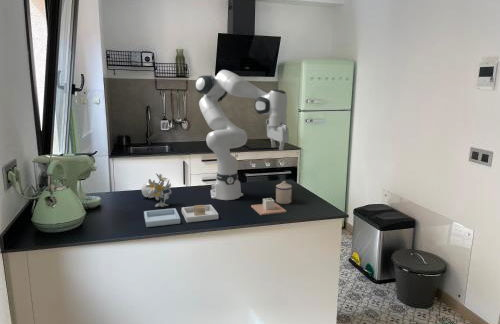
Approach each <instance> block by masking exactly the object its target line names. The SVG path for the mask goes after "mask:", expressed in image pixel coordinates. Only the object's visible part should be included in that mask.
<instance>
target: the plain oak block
mask: <svg viewBox="0 0 500 324" xmlns="http://www.w3.org/2000/svg"><path fill="white" fill-rule="evenodd" d="M193 206H194V215H195V216H199V215H205V207H204V206H203V204H197V205H193Z"/></svg>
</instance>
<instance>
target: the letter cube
mask: <svg viewBox="0 0 500 324" xmlns="http://www.w3.org/2000/svg"><path fill="white" fill-rule="evenodd" d="M274 203H275V200H274V199H273V198H272V197H267V198H262V204H263V208H264V209H266V210H269V209H274Z"/></svg>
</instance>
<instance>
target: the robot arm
mask: <svg viewBox="0 0 500 324" xmlns="http://www.w3.org/2000/svg"><path fill="white" fill-rule="evenodd" d="M194 87H195V91H196V92H197V93H198V94H200V95H203V96H202V97H201V98H200V99H199V102H198V105H199V110H200V111H201V114H202V116H203V118H204V119H205V122H206V123H207V125H208V127H209V128H210V129H211V130H213V131H210V132H208V134H207V135H206V138H205V140H206V145H207V147H208V148H209V149H210V150H211V151H212V152H213V153H214V155H215V157H216V164H217V166H216V167H217V172H216V179H215V181H214V182H213V183H214V184H211V189H210V197H211V199H214V200H215V199H216V200H223V201H232V200H236V199H240V197H243V196H244V193H242V191H241V181H240V180H239V173H238V160H237V158H236V157H235V156H234V155H232V154H231V150H230V149H237V148H240V147H243V146H245V145H246V144H247V141H248V134H247V131H246V130H245V129H242V128H240V127H238V126H236V124H234V123H233V122H232V121H230V119H228V117H227V116H226V114H225V112H224V111H223V110H222V108H221V106H220V104H219V102H222V100H223V99H225V98H226V96H227V95H228V94H229V95H231V96H233V97H237V98H250V99H254V100H255V101H254V102H253V103H254V104H253V105H254V106H253V107H254V111H255V112H256V113H257V114H259V115H269V116H268V117H269V118H268V119H266V121H265V124H266V136H267V138H269V139H270V142H271V143H270V144H271V148H276V147H277V144H276V141H277V142H279V146H278V151H280V152H282V151H284V146H285V143H289V140H290V133H289V131H290V130H289V128H288V126H287V122H288V120H287V119H288V115H287V109H288V96H287V92H286V91H284V90H282V89H276V88H275V89H271V90H270V91H269V92H268V91H266V90H264V89H262V88H260V87H258V86H256V85H254V84H253V83H251V82H249V81H248V80H246V79H244V78H243V77H241V76H240V75H238V74H237V73H234V72H232V71H230V70H227V69H221V70H219V71H218V73H217V74H216V76H213V75H212V74H211V75H209V74H208V75H200V76H198V77H197V78H196V80H195V84H194Z"/></svg>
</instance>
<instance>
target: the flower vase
mask: <svg viewBox="0 0 500 324" xmlns="http://www.w3.org/2000/svg"><path fill="white" fill-rule="evenodd" d="M155 175H156V176H157V178H158V182H156V180H155V179H154V180H152V179H150V178H149V179H148V181H146V182H144V184H142V186H141V193H142V195H143V196H144V197H145V198H147V197H148V198H147V199H152V198H155V200H156V201H159V200H160V201H159V202H157V203H156V204H155V206H154V208H158V207H161V208H163V207H168V206H169V204H166V203H165V202H166V200H168V199H169V197H170V195H171V194H172V192H173V191H172V190H171V186H172V184H171V182H170V179H168V178H167V177H163V174H161V173H155ZM165 182H166V184H165ZM164 185H165V186H164ZM167 190H168V191H169V192H166V193H164V191H167ZM162 199H163V201H162Z"/></svg>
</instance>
